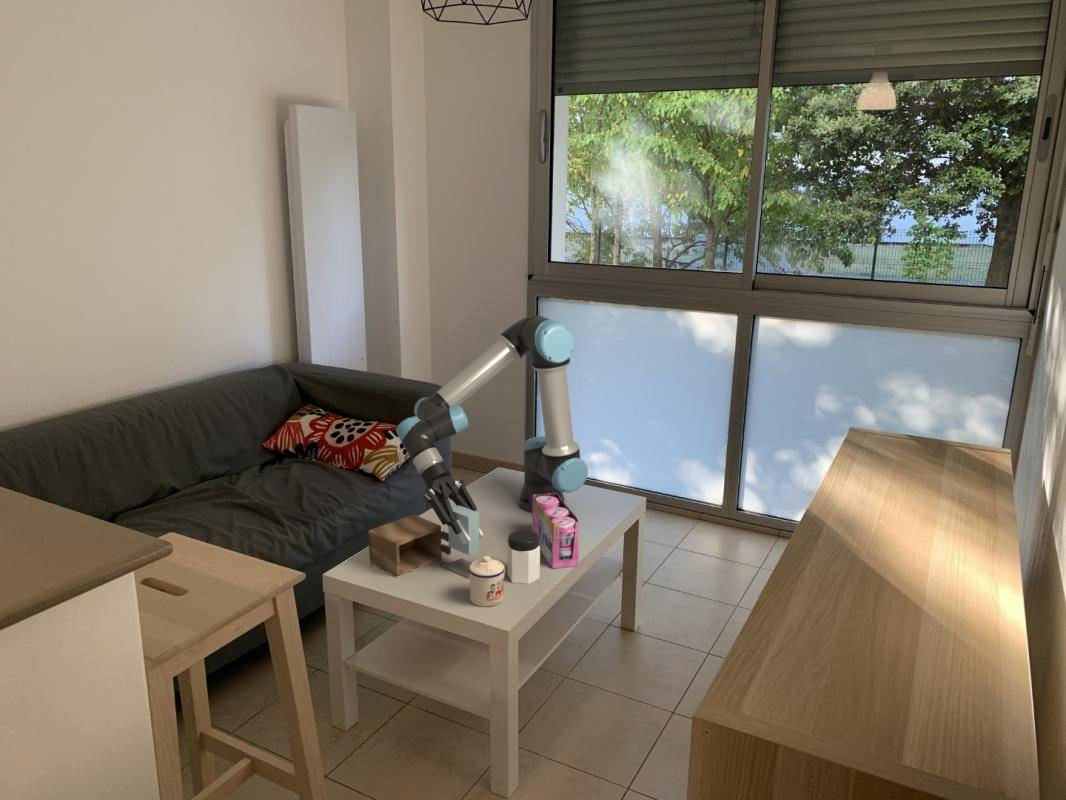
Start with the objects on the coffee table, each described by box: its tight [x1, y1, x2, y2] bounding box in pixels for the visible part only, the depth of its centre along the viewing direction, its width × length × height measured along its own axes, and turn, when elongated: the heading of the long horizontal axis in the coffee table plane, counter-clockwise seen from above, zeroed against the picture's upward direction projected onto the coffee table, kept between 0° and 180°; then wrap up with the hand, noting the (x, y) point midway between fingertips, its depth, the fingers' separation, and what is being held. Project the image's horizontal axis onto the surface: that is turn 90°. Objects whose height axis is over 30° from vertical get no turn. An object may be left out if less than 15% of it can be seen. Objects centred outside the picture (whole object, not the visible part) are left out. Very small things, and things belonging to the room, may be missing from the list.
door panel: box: [447, 505, 480, 556], centre depth 224 cm, size 8×4×11 cm, turn 48°
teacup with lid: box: [469, 555, 506, 608], centre depth 210 cm, size 12×9×12 cm
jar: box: [506, 529, 541, 585], centre depth 221 cm, size 9×8×12 cm
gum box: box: [531, 493, 580, 570], centre depth 236 cm, size 24×8×14 cm, turn 15°
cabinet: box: [368, 513, 473, 579], centre depth 227 cm, size 20×26×10 cm
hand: (473, 539), depth 222 cm, fingers closed on door panel, 4 cm apart
